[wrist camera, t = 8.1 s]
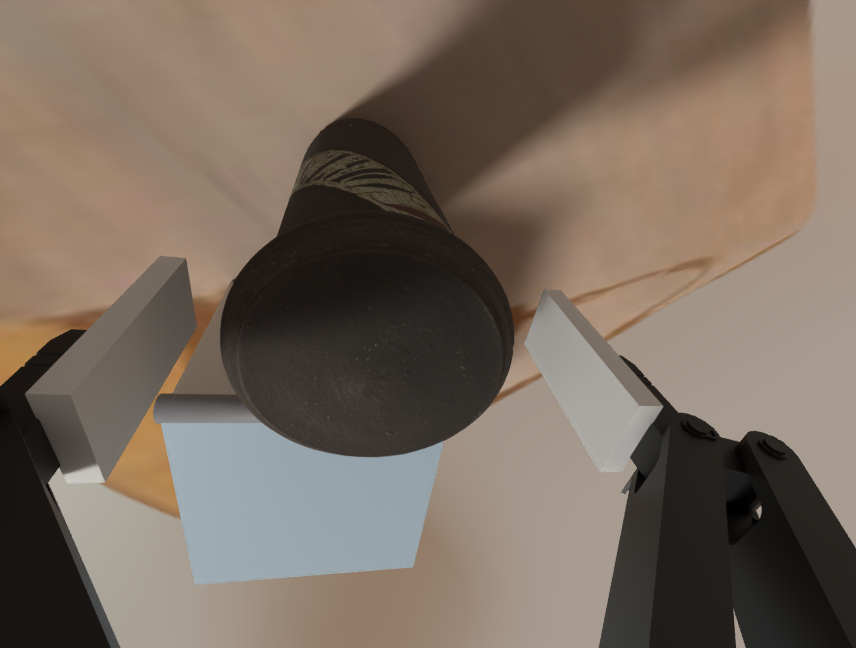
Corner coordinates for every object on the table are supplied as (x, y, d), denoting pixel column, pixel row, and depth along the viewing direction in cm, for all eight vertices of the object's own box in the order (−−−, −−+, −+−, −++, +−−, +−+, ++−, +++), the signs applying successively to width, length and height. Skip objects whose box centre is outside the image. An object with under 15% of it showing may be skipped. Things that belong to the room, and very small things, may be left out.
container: (393, 91, 25) (475, 167, 8) (442, 220, 30) (553, 425, 14) (268, 150, 26) (120, 326, 9) (337, 266, 31) (321, 514, 14)
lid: (413, 549, 30) (416, 568, 29) (198, 564, 26) (190, 586, 25) (450, 392, 23) (455, 409, 22) (163, 387, 19) (151, 407, 18)
